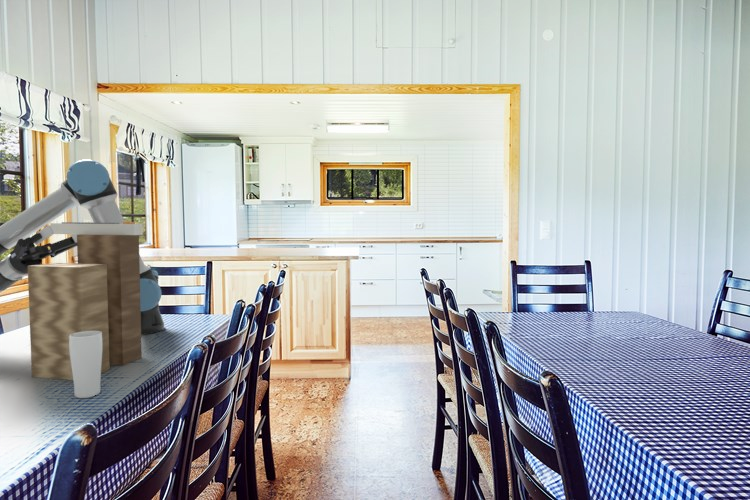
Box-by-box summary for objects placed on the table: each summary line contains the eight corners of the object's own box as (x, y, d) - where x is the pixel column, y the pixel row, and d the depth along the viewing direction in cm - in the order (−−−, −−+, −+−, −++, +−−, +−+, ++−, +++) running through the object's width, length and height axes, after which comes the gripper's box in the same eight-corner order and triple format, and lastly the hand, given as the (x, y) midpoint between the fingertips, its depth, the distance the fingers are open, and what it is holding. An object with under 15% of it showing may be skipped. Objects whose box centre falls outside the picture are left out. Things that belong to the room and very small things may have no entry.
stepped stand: (31, 376, 121) (26, 235, 119) (93, 354, 142) (89, 233, 139) (87, 381, 118) (82, 236, 116) (141, 357, 139) (138, 234, 136)
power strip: (50, 233, 135) (50, 221, 135) (61, 233, 138) (60, 221, 138) (134, 235, 130) (133, 222, 130) (142, 234, 134) (142, 222, 133)
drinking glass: (80, 390, 112) (79, 330, 111) (109, 389, 112) (107, 330, 111) (64, 400, 105) (62, 337, 104) (94, 400, 106) (92, 337, 105)
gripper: (61, 269, 151) (108, 238, 147) (-15, 278, 127) (39, 241, 123) (51, 250, 151) (97, 218, 148) (-28, 255, 127) (26, 218, 123)
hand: (71, 229), depth 135 cm, fingers open, 13 cm apart
